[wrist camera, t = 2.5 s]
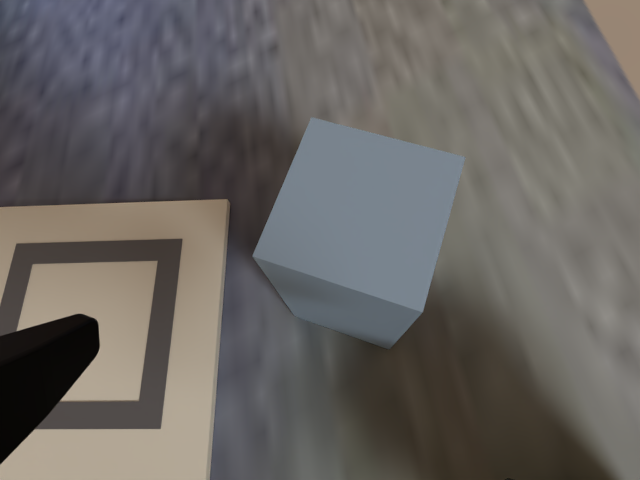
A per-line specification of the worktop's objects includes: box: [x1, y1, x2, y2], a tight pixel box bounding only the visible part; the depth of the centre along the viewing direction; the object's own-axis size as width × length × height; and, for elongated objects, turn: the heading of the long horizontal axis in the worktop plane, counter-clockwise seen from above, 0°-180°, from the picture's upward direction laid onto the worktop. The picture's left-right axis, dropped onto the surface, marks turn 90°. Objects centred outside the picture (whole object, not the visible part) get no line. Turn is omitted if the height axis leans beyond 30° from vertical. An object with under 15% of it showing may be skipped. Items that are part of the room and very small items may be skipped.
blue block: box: [253, 117, 465, 350], centre depth 17 cm, size 5×5×10 cm
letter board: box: [0, 199, 230, 480], centre depth 22 cm, size 14×14×1 cm
